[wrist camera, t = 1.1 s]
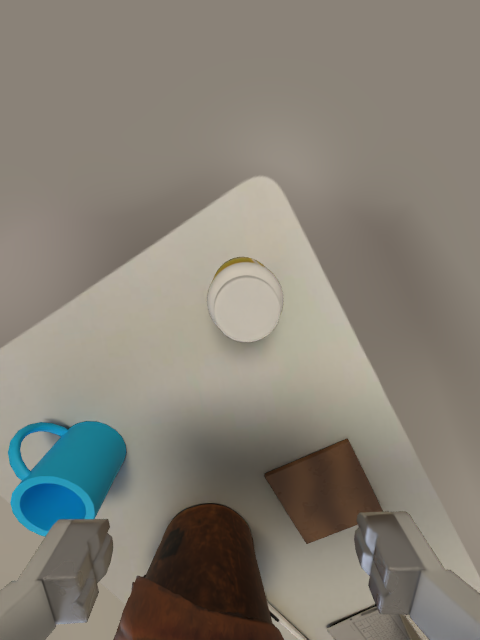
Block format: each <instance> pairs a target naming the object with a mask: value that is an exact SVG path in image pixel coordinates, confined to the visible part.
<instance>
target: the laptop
mask: <svg viewBox="0 0 480 640" xmlns="http://www.w3.org/2000/svg"><path fill="white" fill-rule="evenodd" d="M327 631H328V632H329V633H330V635H331V636H332V637H333V638H334V639H335V640H421V638H420V637H419V635H418V634H417V633H416V631H415V630H414V628H413V627H412V625H411V624H410V622H409V621H408V619H407V618H406V617H405V615H402V614H379V611H378V609H377V606H376V607H373V608H371V609H369V610H366V611H364V612H362V613H360V614H357V615H355V616H353V617H351V618H349V619H347V620H344V621H342V622H340V623H338V624H336V625H334V626H332V627H330V628H328V629H327Z"/></svg>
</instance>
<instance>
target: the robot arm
mask: <svg viewBox="0 0 480 640" xmlns="http://www.w3.org/2000/svg"><path fill="white" fill-rule="evenodd" d="M357 523H358V525H359V528H358V529H357V530H356V531H355V537H354V541H355V549H356V553H357V556H358V559H359V562H360V565H361V567H362V569H363V570H364V571H365V572H366V573H367V574H368V575H369V576H370V579H369V585H368V586H369V588H370V591H371V593H372V596H373V599H374V601H375V604H376V606H377V609H378V611H379V614H402V615H410V618H411V619H412V620H413V621H414V622H415V623H416V625H417V626H418V627H419V628H420V629H421V631H422V632H423V633H424V634H425V635H426V636H427V638H428V639H429V640H480V593H478V592H477V591H476V590H475V589H473V588H472V587H471V586H470V585H468V584H467V583H466V582H465V581H463V580H462V579H461V578H460V577H459V576H457V575H456V574H455V573H454V572H452V571H451V570H445V569H444V567H443V566H442V564H441V562H440V561H439V559H438V558H437V556H436V555H435V553H434V552H433V550H432V548H431V547H430V545H429V544H428V542H427V541H426V539H425V538H424V536H423V534H422V533H421V531H420V530H419V528H418V527H417V525H416V524H415V522H414V520H413V519H412V517H411V516H410V515H409V514H408V513H407V512H405V511H399V512H389V511H385V512H361V513H359V514H358V515H357ZM109 528H110V525H109V521H108V519H59V520H58V521H57V522H56V523H55V524H54V525H53V526H52V527H51V529H50V530H49V532H48V534H47V535H46V537H45V538H44V540H43V541H42V543H41V544H40V546H39V547H38V549H37V551H36V552H35V554H34V555H33V557H32V558H31V560H30V561H29V563H28V565H27V566H26V568H25V569H24V571H23V572H22V574H21V576H20V577H19V578H18V580H17V581H11V582H10V583H9V584H8V585H6V586H5V587H4V588H3V589H2V590H0V640H45V639H46V638H47V637H48V636H49V635H50V633H51V632H52V631H53V630H54V629H55V627H56V624H66V623H67V624H68V623H83V622H87V621H88V618H89V616H90V613H91V611H92V608H93V606H94V603H95V601H96V598H97V596H98V593H99V591H98V586H97V583H98V582H99V581H100V580H101V579H102V578H103V577H104V576H105V575H106V573H107V570H108V567H109V565H110V561H111V557H112V552H113V540H112V537H111V536H110V535H109V534H108V533H107V532H108V530H109Z"/></svg>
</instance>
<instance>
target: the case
mask: <svg viewBox="0 0 480 640" xmlns="http://www.w3.org/2000/svg"><path fill="white" fill-rule="evenodd" d="M114 640H284V638H283V637H282V635H281V633H280V631H279V629H277V628H276V627H275V625H274V624H272V620H271V616H270V612H269V607H268V603H267V599H266V596H265V592H264V588H263V584H262V580H261V576H260V572H259V568H258V564H257V560H256V555H255V550H254V544H253V538H252V536H251V532H250V529H249V527H248V525H247V524H246V522H245V521H244V520H243V519H242V518H241V517H240V516H239V515H238V514H237V513H236V512H234V511H233V510H231V509H230V508H227V507H225V506H221V505H217V504H204V505H199V506H195V507H191V508H188V509H186V510H184V511H182V512H181V513H179V514H178V515H177V516H176V517H175V518H174V519H173V520H172V521H171V522H170V524H169V525H168V527H167V529H166V531H165V533H164V536H163V538H162V541H161V543H160V545H159V547H158V549H157V552H156V554H155V556H154V558H153V561H152V563H151V565H150V568H149V569H148V571H147V574H146V575H144V577H140V576H137V578H136V581H135V583H134V582H133V583H132V592H131V595H130V597H129V598H128V601H127V603H126V606H125V608H124V610H123V613H122V617H121V620H120V623H119V626H118V629H117V632H116V635H115V637H114Z"/></svg>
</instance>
